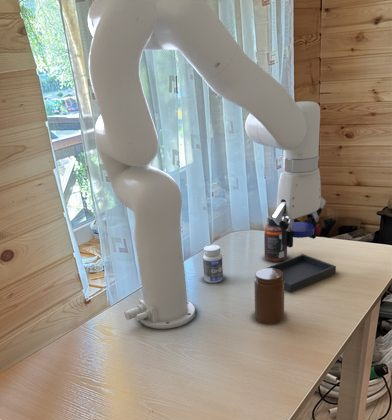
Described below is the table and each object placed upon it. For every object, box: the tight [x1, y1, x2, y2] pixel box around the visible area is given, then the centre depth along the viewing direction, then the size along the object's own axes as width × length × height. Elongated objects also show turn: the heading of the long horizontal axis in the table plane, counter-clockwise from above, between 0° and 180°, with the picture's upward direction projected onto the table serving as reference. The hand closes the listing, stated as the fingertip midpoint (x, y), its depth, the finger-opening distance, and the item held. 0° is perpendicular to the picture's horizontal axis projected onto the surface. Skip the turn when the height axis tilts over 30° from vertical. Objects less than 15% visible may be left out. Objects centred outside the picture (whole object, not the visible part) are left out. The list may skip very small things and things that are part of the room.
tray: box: [264, 253, 337, 293], centre depth 127 cm, size 15×11×2 cm
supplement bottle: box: [263, 214, 288, 263], centre depth 134 cm, size 6×6×11 cm
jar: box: [253, 267, 286, 325], centre depth 108 cm, size 6×6×10 cm
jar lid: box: [291, 221, 315, 239], centre depth 121 cm, size 7×7×2 cm
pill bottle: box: [202, 244, 224, 284], centre depth 127 cm, size 5×5×8 cm
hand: (298, 240), depth 122 cm, fingers closed on jar lid, 6 cm apart
